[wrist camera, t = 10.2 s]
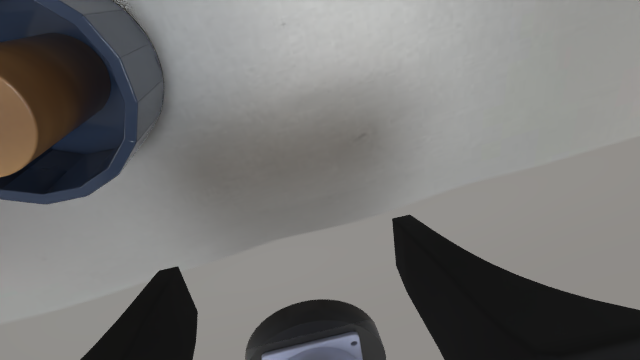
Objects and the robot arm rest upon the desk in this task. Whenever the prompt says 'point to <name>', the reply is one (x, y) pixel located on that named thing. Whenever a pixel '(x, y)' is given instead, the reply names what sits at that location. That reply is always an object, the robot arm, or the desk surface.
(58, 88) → the brown cylinder
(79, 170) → the cup
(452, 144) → the desk surface
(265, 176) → the desk surface
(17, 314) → the desk surface
